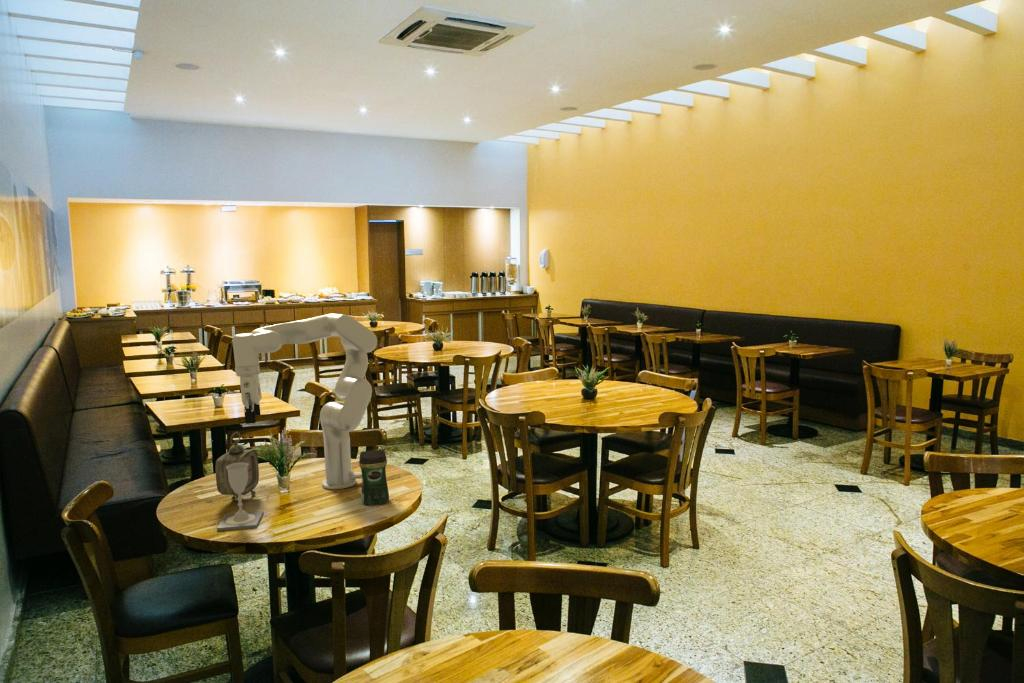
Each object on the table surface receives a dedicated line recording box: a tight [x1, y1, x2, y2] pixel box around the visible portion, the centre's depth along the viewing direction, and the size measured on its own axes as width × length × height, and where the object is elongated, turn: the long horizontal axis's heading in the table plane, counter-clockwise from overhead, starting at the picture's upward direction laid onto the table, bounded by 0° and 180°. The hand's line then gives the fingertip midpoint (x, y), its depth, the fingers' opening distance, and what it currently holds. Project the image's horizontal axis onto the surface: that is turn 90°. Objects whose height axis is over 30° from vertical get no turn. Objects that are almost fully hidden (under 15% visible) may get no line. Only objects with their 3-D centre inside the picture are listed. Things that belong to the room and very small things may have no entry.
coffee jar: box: [358, 448, 390, 506], centre depth 238 cm, size 10×8×19 cm
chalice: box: [226, 462, 250, 522], centre depth 222 cm, size 7×7×18 cm
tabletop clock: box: [214, 431, 260, 507], centre depth 241 cm, size 14×9×25 cm, turn 175°
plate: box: [216, 510, 264, 532], centre depth 223 cm, size 12×12×1 cm
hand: (253, 419), depth 232 cm, fingers open, 9 cm apart
